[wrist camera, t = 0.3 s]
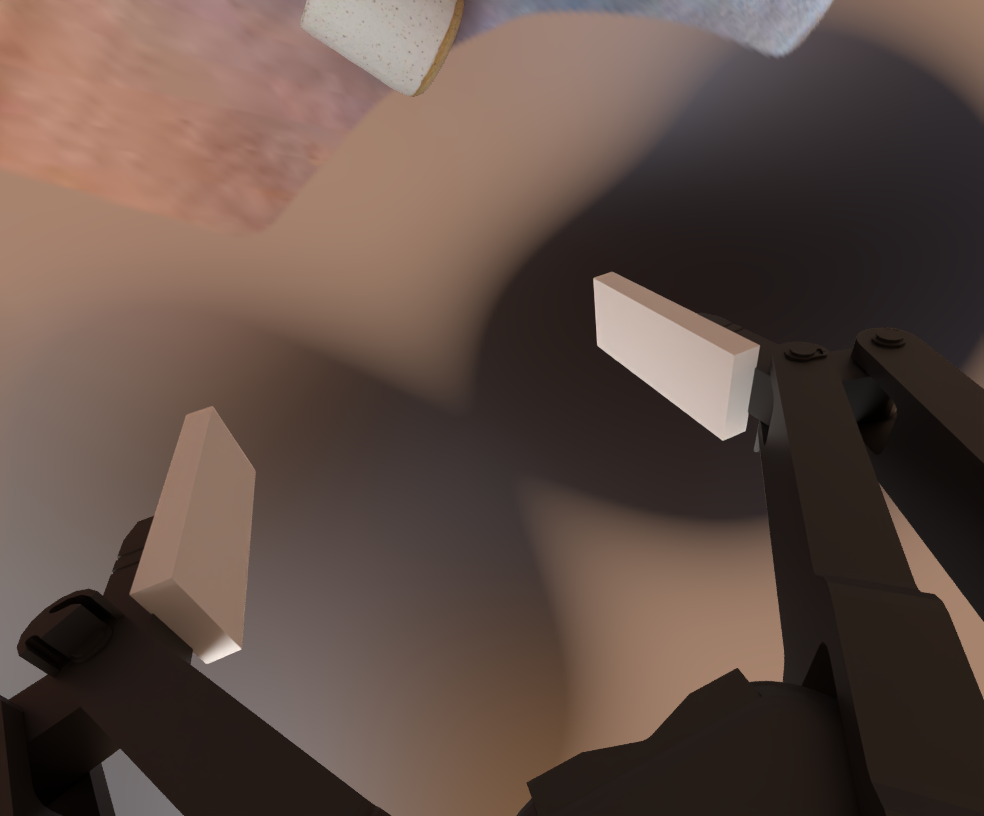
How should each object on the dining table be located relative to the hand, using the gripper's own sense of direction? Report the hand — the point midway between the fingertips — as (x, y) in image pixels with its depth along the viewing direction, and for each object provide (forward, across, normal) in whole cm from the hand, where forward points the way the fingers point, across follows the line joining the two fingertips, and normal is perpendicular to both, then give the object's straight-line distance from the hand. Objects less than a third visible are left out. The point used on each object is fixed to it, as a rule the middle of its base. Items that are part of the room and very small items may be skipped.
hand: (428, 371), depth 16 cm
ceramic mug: (+28, +7, +13) cm, 32 cm away
